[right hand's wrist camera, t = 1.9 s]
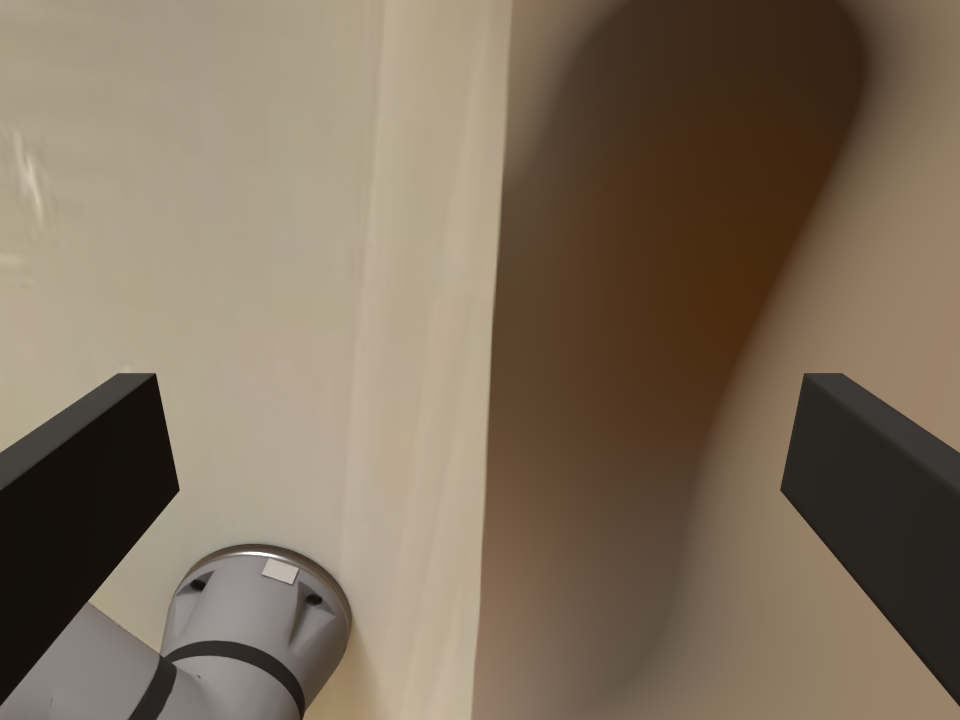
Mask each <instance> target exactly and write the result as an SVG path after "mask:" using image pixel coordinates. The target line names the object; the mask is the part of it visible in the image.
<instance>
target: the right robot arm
mask: <svg viewBox="0 0 960 720" xmlns="http://www.w3.org/2000/svg"><path fill="white" fill-rule="evenodd" d="M780 490H781V492H782V493H783V494H784V495H785V497H786V498H787V499H788V500H789V501H790V503H791V504H792V505H793V506H794V507H795V509H796V510H797V511H798V512H799V513H800V515H801V516H802V517H803V518H804V519H805V521H806V522H807V523H808V524H809V526H810V527H811V528H812V529H813V530H814V532H815V533H816V534H817V535H818V536H819V538H820V539H821V540H822V541H823V542H824V544H825V545H826V546H827V547H828V548H829V550H830V551H831V552H832V553H833V554H834V556H835V557H836V558H837V559H838V560H839V562H840V563H841V564H842V565H843V567H844V568H845V569H846V570H847V571H848V573H849V574H850V575H851V576H852V577H853V579H854V580H855V581H856V582H857V583H858V585H859V586H860V587H861V588H862V589H863V591H864V592H865V593H866V594H867V595H868V597H869V598H870V599H871V600H872V601H873V603H874V604H875V605H876V606H877V607H878V609H879V610H880V611H881V612H882V613H883V615H884V616H885V617H886V618H887V620H888V621H889V622H890V623H891V624H892V626H893V627H894V628H895V629H896V630H897V632H898V633H899V634H900V635H901V636H902V638H903V639H904V640H905V641H906V642H907V644H908V645H909V646H910V647H911V648H912V650H913V651H914V652H915V653H916V654H917V656H918V657H919V658H920V659H921V661H922V662H923V663H924V664H925V665H926V667H927V668H928V669H929V670H930V671H931V672H932V674H933V675H934V676H935V677H936V679H937V680H938V681H939V682H940V683H941V685H942V686H943V687H944V688H945V689H946V691H947V692H948V693H949V694H950V695H951V697H952V698H953V699H954V700H955V701H956V703H957V704H958V705H959V706H960V453H959V452H957V451H956V450H955V449H953V448H952V447H950V446H949V445H947V444H946V443H944V442H943V441H941V440H940V439H938V438H937V437H935V436H934V435H932V434H931V433H929V432H928V431H926V430H925V429H923V428H922V427H921V426H919V425H917V424H916V423H915V422H913V421H912V420H910V419H909V418H907V417H906V416H904V415H903V414H901V413H900V412H898V411H897V410H895V409H894V408H892V407H891V406H890V405H888V404H886V403H885V402H884V401H882V400H881V399H879V398H878V397H876V396H875V395H873V394H872V393H870V392H869V391H867V390H866V389H864V388H863V387H861V386H860V385H858V384H857V383H856V382H854V381H853V380H851V379H850V378H848V377H847V376H845V375H844V374H842V373H804V377H803V382H802V387H801V391H800V396H799V401H798V406H797V411H796V416H795V421H794V425H793V430H792V435H791V440H790V445H789V450H788V455H787V460H786V464H785V469H784V474H783V479H782V484H781V489H780ZM179 491H180V489H179V484H178V479H177V474H176V469H175V464H174V460H173V455H172V450H171V445H170V440H169V435H168V430H167V425H166V421H165V416H164V411H163V406H162V401H161V396H160V391H159V386H158V382H157V377H156V373H118V374H116V375H115V376H113V377H112V378H110V379H109V380H107V381H106V382H104V383H103V384H102V385H100V386H99V387H97V388H96V389H94V390H93V391H91V392H90V393H88V394H87V395H85V396H84V397H82V398H81V399H79V400H78V401H76V402H75V403H73V404H72V405H70V406H69V407H68V408H66V409H65V410H63V411H62V412H60V413H59V414H57V415H56V416H54V417H53V418H51V419H50V420H48V421H47V422H45V423H44V424H42V425H41V426H39V427H38V428H37V429H35V430H34V431H32V432H31V433H29V434H28V435H26V436H25V437H23V438H22V439H20V440H19V441H17V442H16V443H14V444H13V445H11V446H10V447H8V448H7V449H5V450H4V451H3V452H1V453H0V720H303V717H304V714H305V711H306V710H307V708H308V707H309V706H310V704H311V703H312V701H313V700H314V699H315V697H316V696H317V694H318V693H319V692H320V690H321V689H322V687H323V686H324V685H325V683H326V682H327V680H328V679H329V678H330V676H331V675H332V673H333V672H334V671H335V669H336V668H337V666H338V664H339V662H340V660H341V659H342V657H343V655H344V652H345V650H346V646H347V643H348V639H349V635H350V631H351V620H352V619H351V611H350V606H349V603H348V600H347V598H346V596H345V593H344V592H343V590H342V588H341V587H340V585H339V584H338V583H337V581H336V580H335V579H334V578H333V577H332V576H331V575H330V574H329V573H328V572H327V571H326V570H325V569H324V568H322V567H321V566H320V565H318V564H317V563H315V562H314V561H312V560H311V559H309V558H307V557H305V556H303V555H301V554H299V553H296V552H294V551H291V550H288V549H285V548H281V547H277V546H271V545H262V544H245V545H237V546H231V547H227V548H224V549H221V550H218V551H215V552H213V553H211V554H209V555H207V556H206V557H204V558H202V559H201V560H200V561H199V562H197V563H196V564H195V565H194V566H193V567H192V568H191V569H190V570H189V572H188V573H187V574H186V576H185V577H184V579H183V580H182V582H181V583H180V585H179V586H178V588H177V589H176V591H175V593H174V595H173V598H172V601H171V603H170V606H169V610H168V614H167V619H166V624H165V630H164V635H163V640H162V645H161V650H160V654H159V653H158V652H156V651H155V650H153V649H152V648H151V647H149V646H148V645H146V644H145V643H144V642H142V641H141V640H139V639H138V638H137V637H135V636H134V635H132V634H131V633H130V632H128V631H127V630H126V629H124V628H123V627H122V626H120V625H119V624H117V623H116V622H115V621H113V620H112V619H111V618H109V617H108V616H107V615H105V614H104V613H103V612H101V611H100V610H99V609H97V608H96V607H95V606H93V605H92V604H90V603H89V602H88V600H89V599H90V598H91V597H92V595H93V594H94V593H95V592H96V591H97V589H98V588H99V587H100V586H101V585H102V583H103V582H104V581H105V580H106V579H107V577H108V576H109V575H110V574H111V573H112V571H113V570H114V569H115V568H116V567H117V565H118V564H119V563H120V562H121V560H122V559H123V558H124V557H125V556H126V554H127V553H128V552H129V551H130V550H131V548H132V547H133V546H134V545H135V544H136V542H137V541H138V540H139V539H140V538H141V536H142V535H143V534H144V533H145V532H146V530H147V529H148V528H149V527H150V526H151V524H152V523H153V522H154V521H155V519H156V518H157V517H158V516H159V515H160V513H161V512H162V511H163V510H164V509H165V507H166V506H167V505H168V504H169V503H170V501H171V500H172V499H173V498H174V497H175V495H176V494H177V493H178V492H179Z"/></svg>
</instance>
